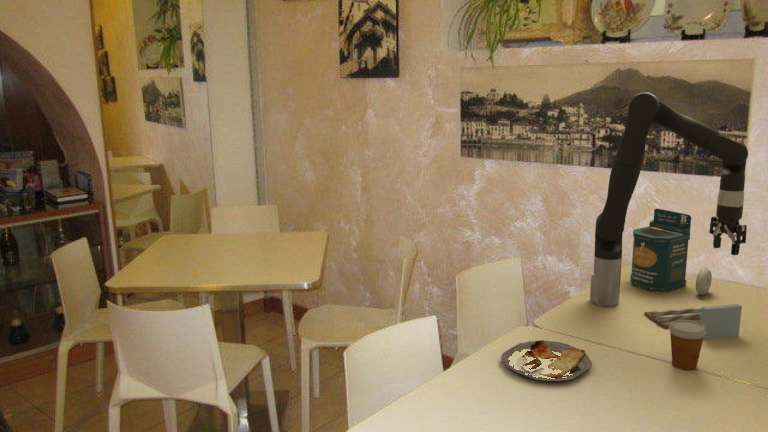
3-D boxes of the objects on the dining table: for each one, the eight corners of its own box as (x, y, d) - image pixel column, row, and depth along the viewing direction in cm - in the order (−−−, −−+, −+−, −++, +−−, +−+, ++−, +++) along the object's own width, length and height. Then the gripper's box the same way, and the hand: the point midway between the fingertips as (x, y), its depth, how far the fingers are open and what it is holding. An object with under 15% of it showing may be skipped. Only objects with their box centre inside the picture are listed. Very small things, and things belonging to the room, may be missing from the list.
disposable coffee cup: (700, 360, 184) (704, 321, 181) (705, 375, 175) (708, 334, 172) (664, 356, 187) (667, 317, 184) (667, 370, 178) (670, 330, 175)
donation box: (685, 286, 245) (691, 215, 238) (658, 294, 237) (663, 221, 230) (649, 275, 258) (654, 207, 252) (622, 282, 250) (627, 213, 244)
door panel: (703, 339, 197) (706, 309, 195) (699, 336, 199) (702, 306, 197) (738, 336, 199) (741, 306, 197) (734, 333, 201) (737, 303, 199)
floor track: (664, 328, 206) (664, 321, 206) (644, 314, 218) (644, 307, 217) (737, 322, 210) (738, 315, 209) (714, 309, 221) (714, 302, 221)
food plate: (535, 339, 200) (535, 329, 199) (605, 362, 184) (605, 351, 183) (487, 368, 183) (487, 357, 183) (559, 396, 167) (560, 384, 166)
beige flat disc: (703, 299, 231) (705, 272, 228) (693, 297, 233) (695, 271, 231) (711, 291, 238) (714, 266, 236) (701, 289, 240) (704, 264, 238)
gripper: (705, 199, 213) (701, 246, 216) (735, 208, 199) (730, 258, 203) (725, 198, 214) (721, 244, 218) (756, 207, 200) (751, 256, 204)
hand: (725, 251), depth 210 cm, fingers open, 8 cm apart
